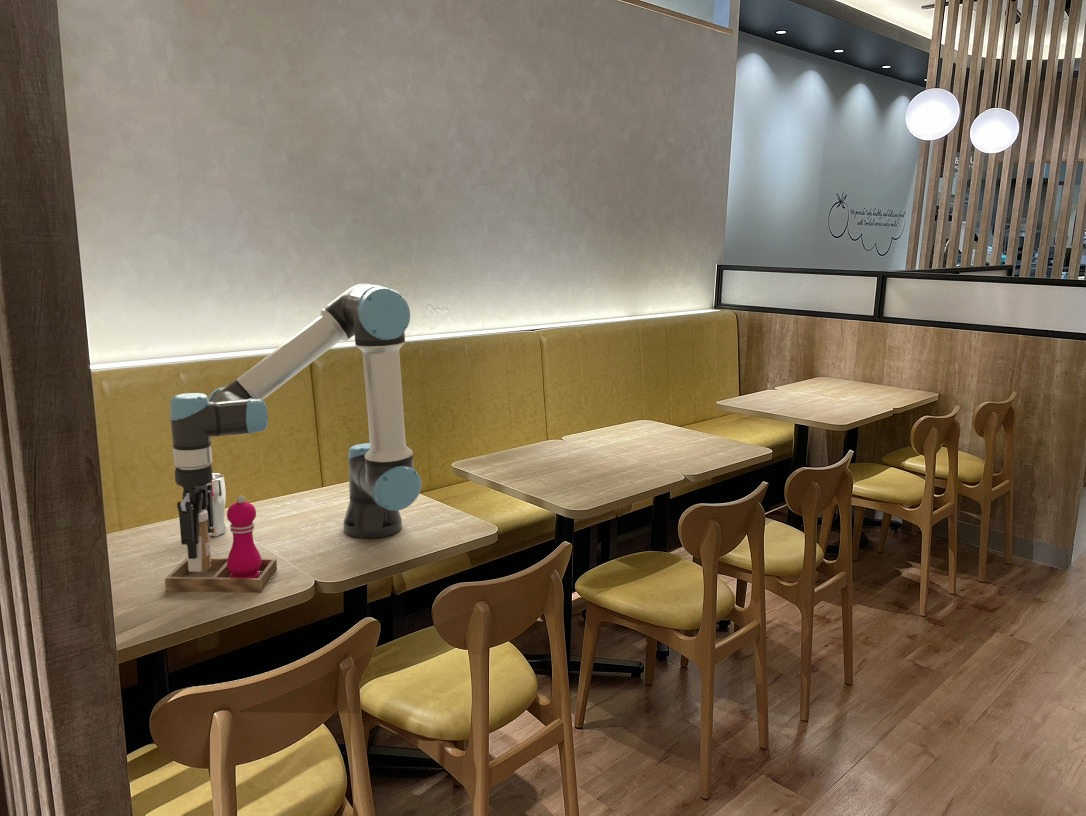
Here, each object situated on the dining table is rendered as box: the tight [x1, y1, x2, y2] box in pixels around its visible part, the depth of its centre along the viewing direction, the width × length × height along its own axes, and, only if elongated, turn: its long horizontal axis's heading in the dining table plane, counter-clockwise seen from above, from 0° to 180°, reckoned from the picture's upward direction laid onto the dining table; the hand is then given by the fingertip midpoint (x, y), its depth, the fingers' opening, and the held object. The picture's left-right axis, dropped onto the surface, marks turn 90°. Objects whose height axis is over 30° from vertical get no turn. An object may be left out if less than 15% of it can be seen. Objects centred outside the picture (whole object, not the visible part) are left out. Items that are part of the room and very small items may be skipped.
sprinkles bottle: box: [198, 509, 211, 573], centre depth 179 cm, size 5×5×13 cm
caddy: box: [164, 556, 278, 594], centre depth 181 cm, size 20×12×3 cm, turn 91°
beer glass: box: [207, 472, 227, 537], centre depth 207 cm, size 7×7×15 cm
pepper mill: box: [226, 495, 262, 578], centre depth 179 cm, size 7×7×20 cm
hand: (200, 565), depth 180 cm, fingers closed on sprinkles bottle, 4 cm apart
